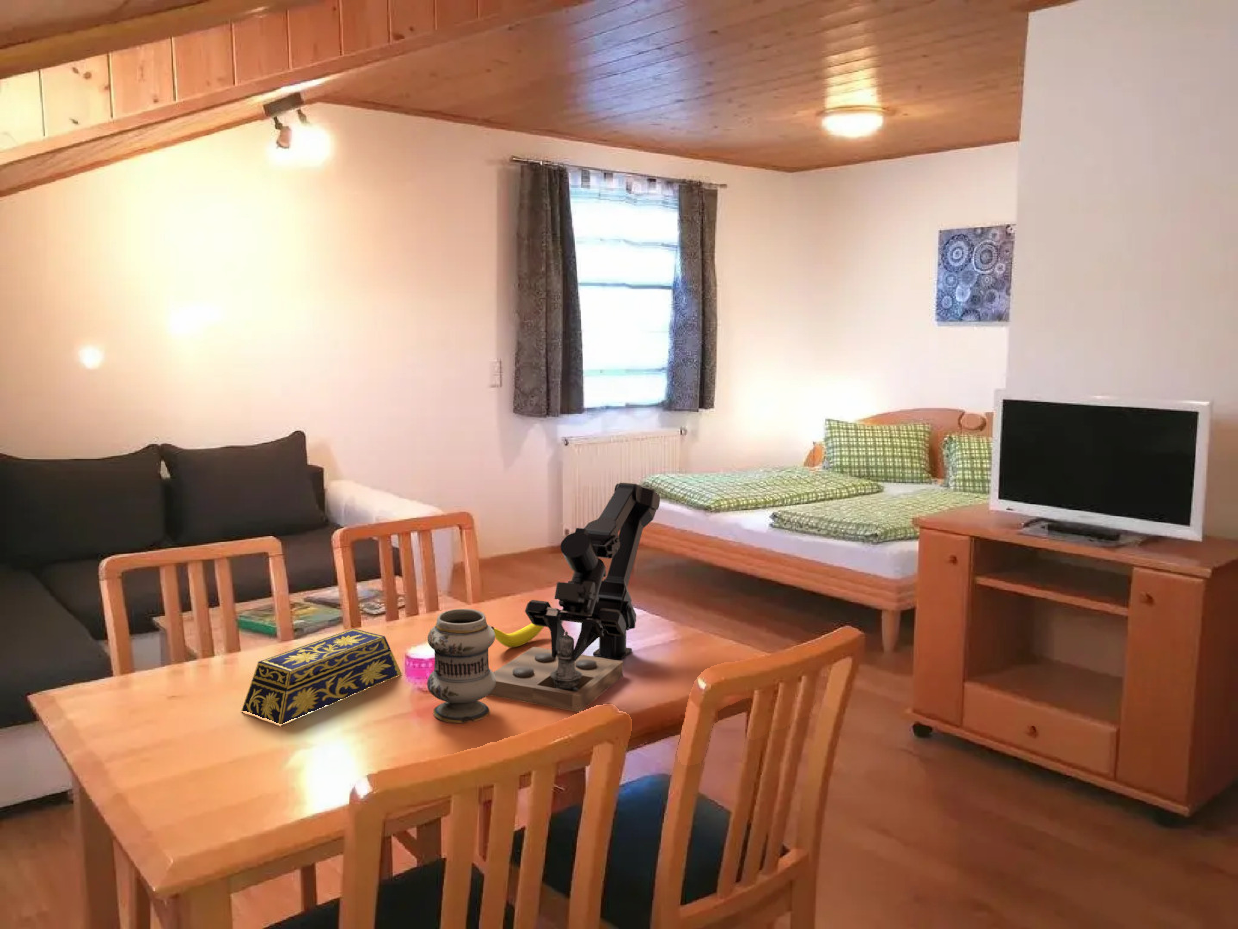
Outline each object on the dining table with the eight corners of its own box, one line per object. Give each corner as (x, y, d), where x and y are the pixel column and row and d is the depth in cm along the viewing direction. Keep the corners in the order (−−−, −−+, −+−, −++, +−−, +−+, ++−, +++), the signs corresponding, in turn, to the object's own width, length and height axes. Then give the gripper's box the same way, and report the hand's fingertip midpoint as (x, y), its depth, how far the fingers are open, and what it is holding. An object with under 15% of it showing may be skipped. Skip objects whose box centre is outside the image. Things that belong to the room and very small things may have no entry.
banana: (555, 635, 221) (555, 607, 220) (496, 657, 205) (496, 628, 205) (545, 632, 222) (545, 605, 221) (486, 654, 207) (486, 625, 206)
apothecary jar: (439, 731, 169) (438, 629, 166) (419, 706, 180) (417, 610, 177) (505, 719, 175) (505, 620, 172) (482, 695, 185) (482, 602, 182)
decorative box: (402, 676, 195) (402, 632, 194) (279, 729, 170) (278, 679, 168) (363, 665, 201) (362, 622, 199) (238, 715, 175) (236, 666, 174)
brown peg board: (533, 660, 204) (533, 644, 203) (622, 675, 196) (623, 658, 196) (483, 694, 186) (483, 675, 185) (579, 712, 178) (580, 693, 177)
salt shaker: (570, 701, 181) (571, 638, 179) (544, 694, 184) (544, 632, 182) (587, 691, 186) (588, 629, 184) (561, 684, 189) (561, 624, 187)
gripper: (528, 558, 188) (503, 632, 180) (621, 568, 182) (600, 645, 174) (545, 588, 197) (522, 659, 188) (634, 598, 191) (615, 672, 182)
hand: (563, 658), depth 183 cm, fingers closed on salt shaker, 4 cm apart
